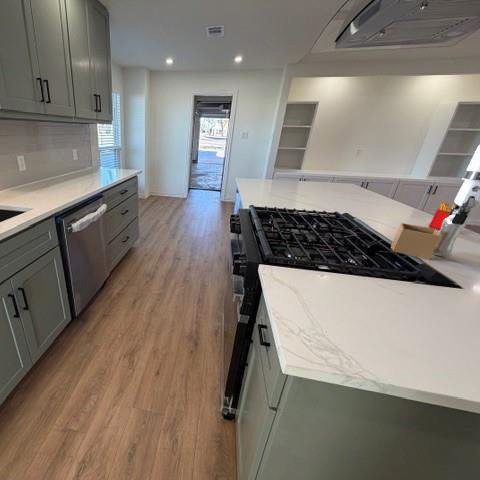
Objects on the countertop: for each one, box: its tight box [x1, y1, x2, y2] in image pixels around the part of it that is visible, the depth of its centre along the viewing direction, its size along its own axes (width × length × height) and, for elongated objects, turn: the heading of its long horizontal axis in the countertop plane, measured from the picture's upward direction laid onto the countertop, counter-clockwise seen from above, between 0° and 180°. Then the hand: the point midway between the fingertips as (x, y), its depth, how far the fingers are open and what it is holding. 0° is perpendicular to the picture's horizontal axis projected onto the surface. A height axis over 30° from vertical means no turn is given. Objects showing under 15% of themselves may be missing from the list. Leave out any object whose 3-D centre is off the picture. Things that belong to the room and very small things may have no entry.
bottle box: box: [390, 222, 441, 260], centre depth 106 cm, size 11×10×12 cm
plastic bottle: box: [432, 209, 467, 257], centre depth 104 cm, size 6×7×20 cm
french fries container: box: [428, 202, 455, 231], centre depth 138 cm, size 7×9×14 cm
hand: (454, 221), depth 102 cm, fingers open, 6 cm apart
